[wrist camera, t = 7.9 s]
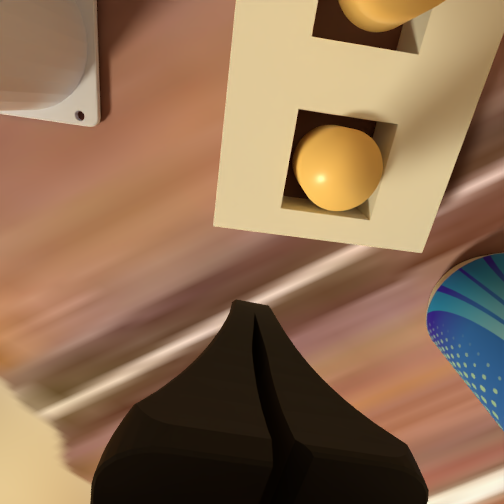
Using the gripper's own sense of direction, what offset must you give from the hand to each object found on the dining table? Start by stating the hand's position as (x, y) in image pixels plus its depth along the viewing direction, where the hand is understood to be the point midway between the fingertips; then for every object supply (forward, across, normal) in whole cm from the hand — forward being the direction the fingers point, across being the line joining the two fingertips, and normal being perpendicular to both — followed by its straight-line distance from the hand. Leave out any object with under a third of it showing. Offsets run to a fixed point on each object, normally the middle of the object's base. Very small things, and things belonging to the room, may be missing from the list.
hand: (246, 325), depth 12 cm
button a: (+10, -4, -5) cm, 12 cm away
